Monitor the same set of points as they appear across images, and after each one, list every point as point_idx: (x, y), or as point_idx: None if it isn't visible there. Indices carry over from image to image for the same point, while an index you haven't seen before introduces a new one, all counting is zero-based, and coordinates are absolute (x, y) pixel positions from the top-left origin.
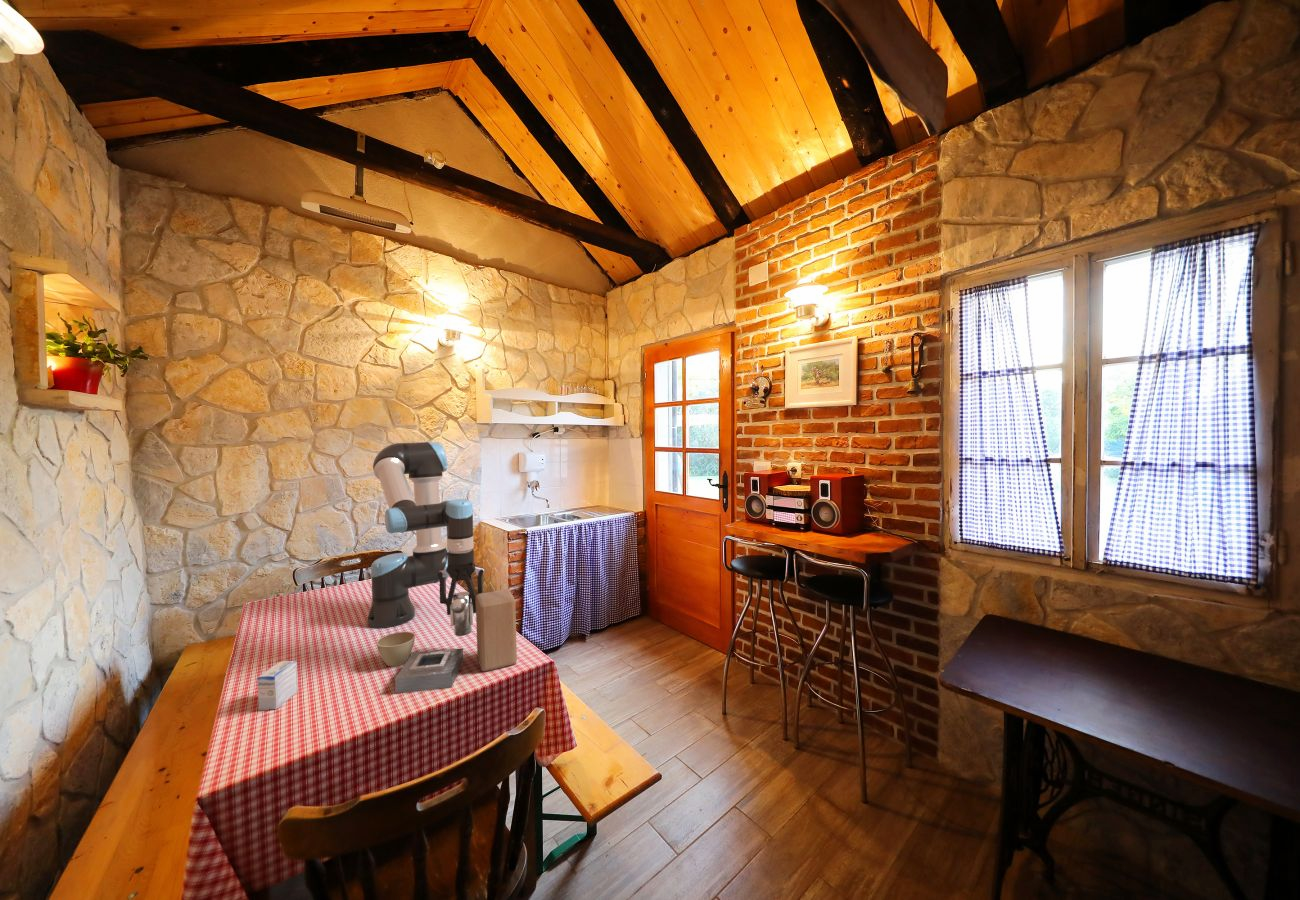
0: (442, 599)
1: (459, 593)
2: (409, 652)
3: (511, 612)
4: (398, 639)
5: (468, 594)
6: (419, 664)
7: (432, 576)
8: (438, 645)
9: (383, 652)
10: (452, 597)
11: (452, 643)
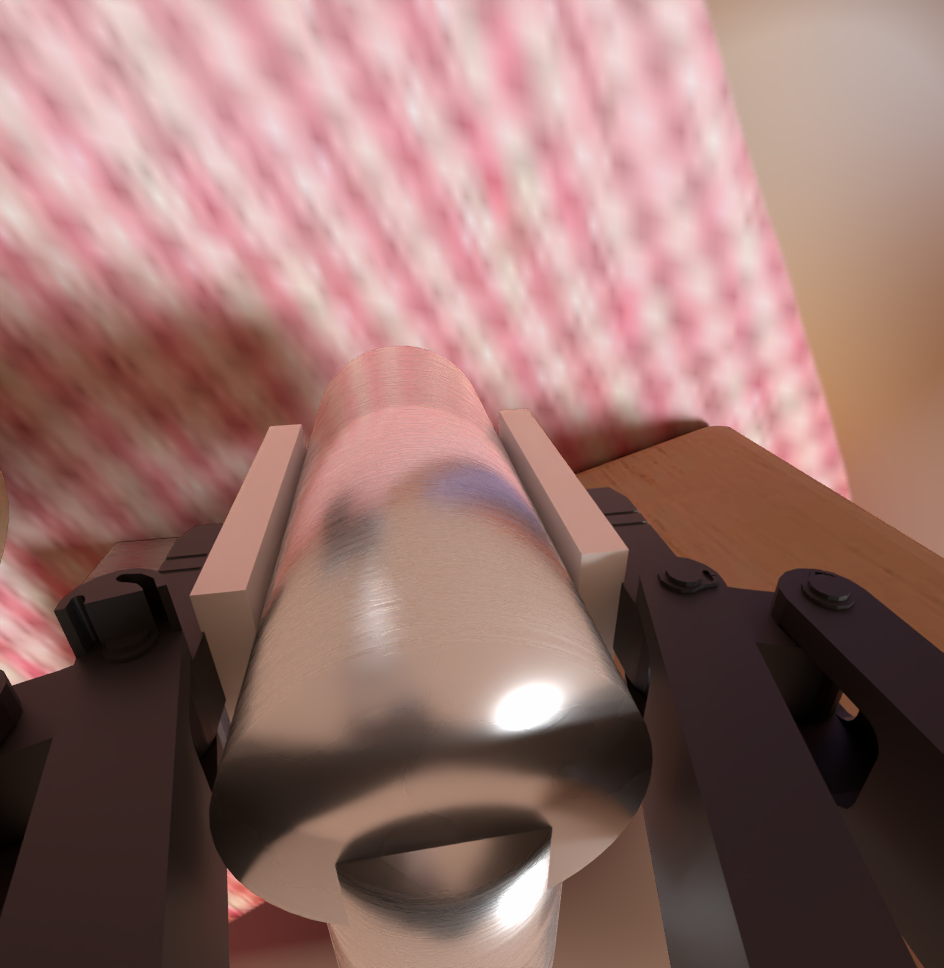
0: (4, 889)
1: (342, 754)
2: (4, 531)
3: None
4: None
5: (605, 791)
6: (222, 714)
7: None
8: (118, 216)
9: None
10: (202, 788)
11: (242, 197)
